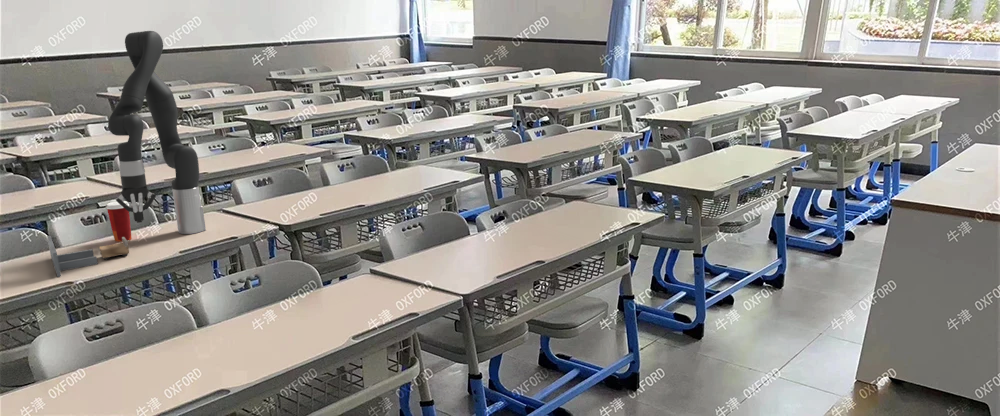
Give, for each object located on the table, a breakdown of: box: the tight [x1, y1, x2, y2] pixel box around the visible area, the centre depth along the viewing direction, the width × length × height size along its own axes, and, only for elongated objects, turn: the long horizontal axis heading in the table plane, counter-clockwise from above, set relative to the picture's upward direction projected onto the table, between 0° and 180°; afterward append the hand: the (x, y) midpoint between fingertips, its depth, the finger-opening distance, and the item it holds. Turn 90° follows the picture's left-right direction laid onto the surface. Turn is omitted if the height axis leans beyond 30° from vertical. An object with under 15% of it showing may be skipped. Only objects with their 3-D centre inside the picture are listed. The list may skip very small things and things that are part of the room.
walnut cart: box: [99, 237, 130, 261], centre depth 242 cm, size 8×6×6 cm
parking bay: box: [46, 235, 98, 278], centre depth 235 cm, size 12×24×8 cm, turn 36°
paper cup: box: [105, 200, 132, 243], centre depth 261 cm, size 8×8×14 cm
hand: (139, 222), depth 246 cm, fingers closed
